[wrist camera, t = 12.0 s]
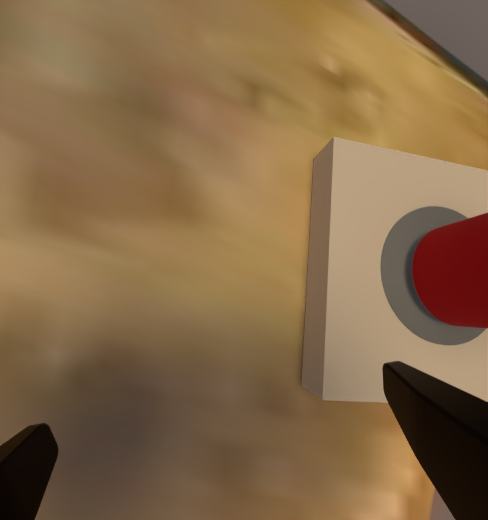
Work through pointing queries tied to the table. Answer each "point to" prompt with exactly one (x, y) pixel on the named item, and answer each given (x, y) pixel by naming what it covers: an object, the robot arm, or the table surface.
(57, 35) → the table surface
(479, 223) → the beverage can
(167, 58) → the table surface
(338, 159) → the base plate
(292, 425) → the table surface
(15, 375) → the table surface
